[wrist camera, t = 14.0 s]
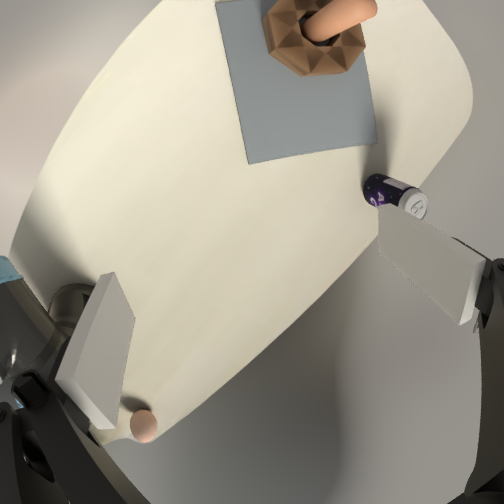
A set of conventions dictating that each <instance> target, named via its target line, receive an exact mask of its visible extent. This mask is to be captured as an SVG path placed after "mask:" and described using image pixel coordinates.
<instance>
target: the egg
mask: <svg viewBox="0 0 504 504" xmlns="http://www.w3.org/2000/svg"><path fill="white" fill-rule="evenodd" d="M130 428H131V431H132V434H133V435H134V437H135V438H136V439H137V440H138V441H140V442H148V441H150V440H152V439H153V437H154V436H155V434H156V432H157V420H156V418H155V416H154V415H153V414H152V413H151V412H149V411H148V410H143V409H142V410H138V411H136V412H135V413H134V414H133V415H132V417H131V420H130Z"/></svg>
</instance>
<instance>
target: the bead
mask: <svg viewBox="0 0 504 504" xmlns="http://www.w3.org/2000/svg"><path fill="white" fill-rule="evenodd" d="M332 1H333V0H278V2H277V3H276V4H275V5H274V6H273V7H272V8H271V9H270V10H269V11H268V12H267V14H266V15H265V16H264V18H263V19H262V21H261V22H262V26H263V30H264V35H265V39H266V43H267V48H268V53H269V55H271V56H272V57H273V58H275V59H276V60H278V61H279V62H281V63H282V64H284V65H285V66H286V67H288V68H289V69H291V70H292V71H293V72H295V73H296V74H297V75H299V76H300V77H305V76H319V75H336V74H340V73H344V72H347V71H348V70H349V69H350V67H351V66H352V65H353V63H354V62H355V61H356V59H357V58H358V57H359V55H360V54H361V52H362V51H363V50H364V48H365V47H366V45H365V41H364V36H363V32H362V28H361V24H360V23H359V24H357V25H354V26H352V27H350V28H348V29H346V30H344V31H342V32H340V33H338V34H336V35H334V36H332V37H330V38H328V39H329V42H328V43H327V45H326V46H323V47H316V46H315V45H313V44H312V43H311V42H309V41H308V40H307V39H305V38H304V37H302V35H301V30H300V26H299V22H298V20H299V19H300V18H310V17H312V16H313V15H314V14H315V13H317V12H318V11H319V10H321V9H322V8H323V7H325V6H326V5H328V4H329V3H330V2H332Z"/></svg>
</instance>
